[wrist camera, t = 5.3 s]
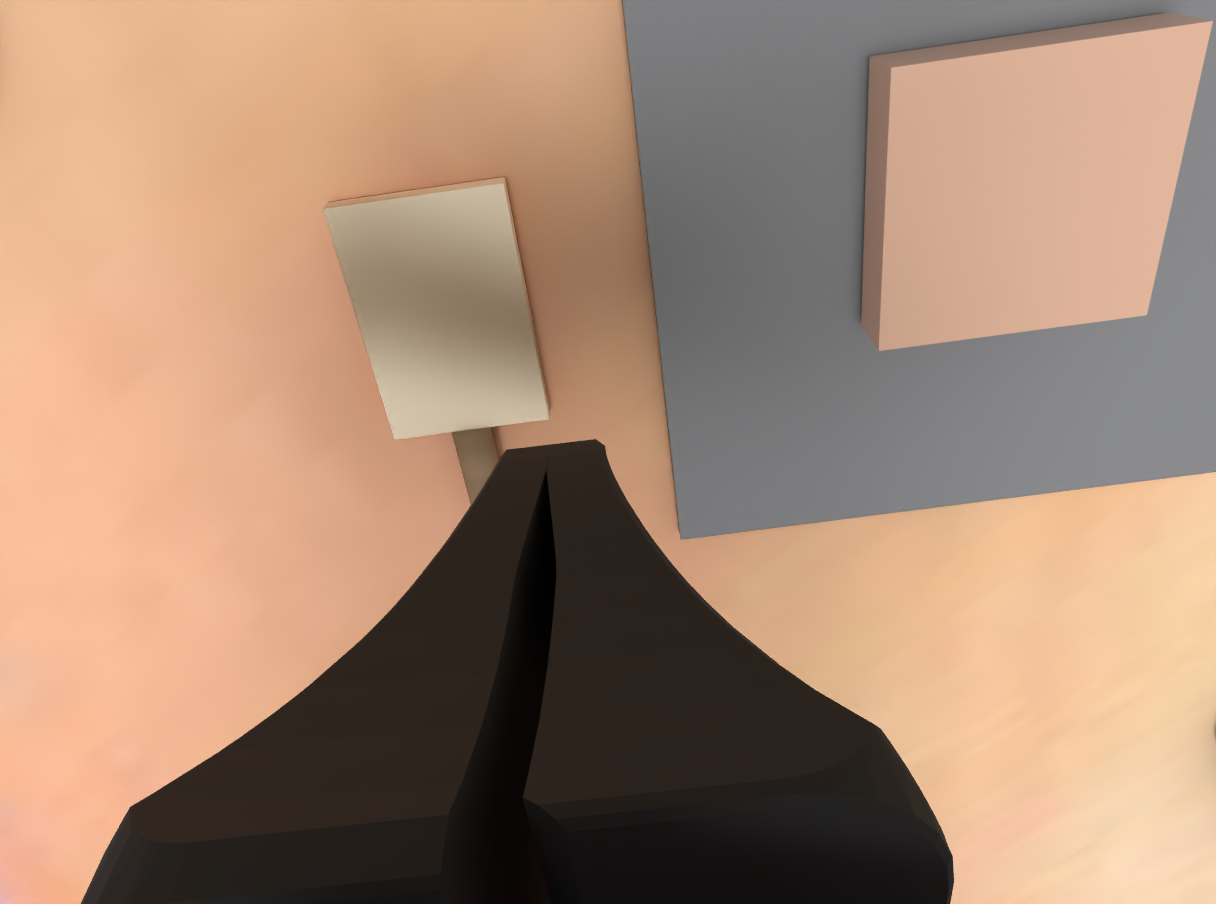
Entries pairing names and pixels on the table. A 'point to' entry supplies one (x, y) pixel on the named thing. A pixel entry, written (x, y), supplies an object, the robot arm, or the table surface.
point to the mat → (833, 274)
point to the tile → (1023, 178)
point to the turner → (443, 313)
